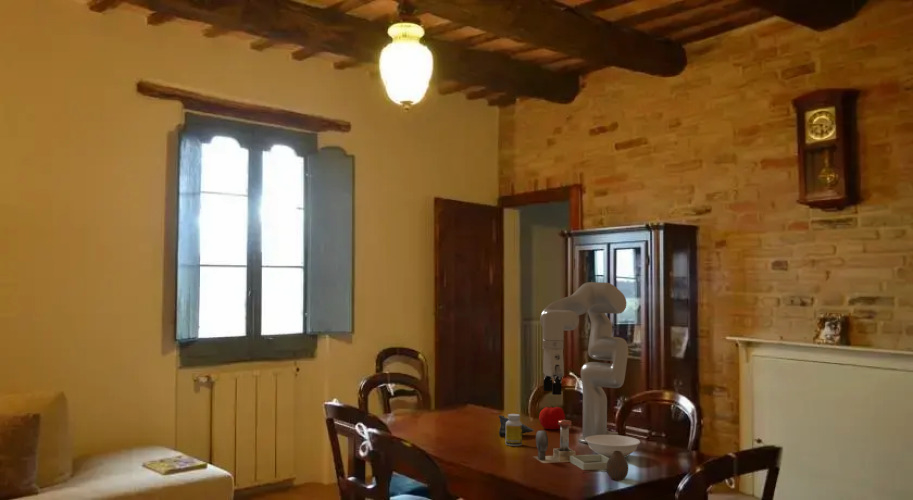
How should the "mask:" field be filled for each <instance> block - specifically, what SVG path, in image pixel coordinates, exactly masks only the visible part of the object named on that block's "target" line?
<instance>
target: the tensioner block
mask: <svg viewBox="0 0 913 500" xmlns="http://www.w3.org/2000/svg"><path fill="white" fill-rule="evenodd" d="M535 444H536V448H537V455H535V456H532V457H533V458H534V459H536V460H537V461H539V462H540V463H542V464H552V463H571V462H570V456H573V455H577V454H576V450H573V449H572V448H570V447H569V451H562V452H561V451H560V447H559V448H558V447H557V448H553V451H552V452H553V454H552V455H546V451H547V450H548V447H549V437H548V433H547V432H546V430H537V431H536V434H535Z"/></svg>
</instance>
